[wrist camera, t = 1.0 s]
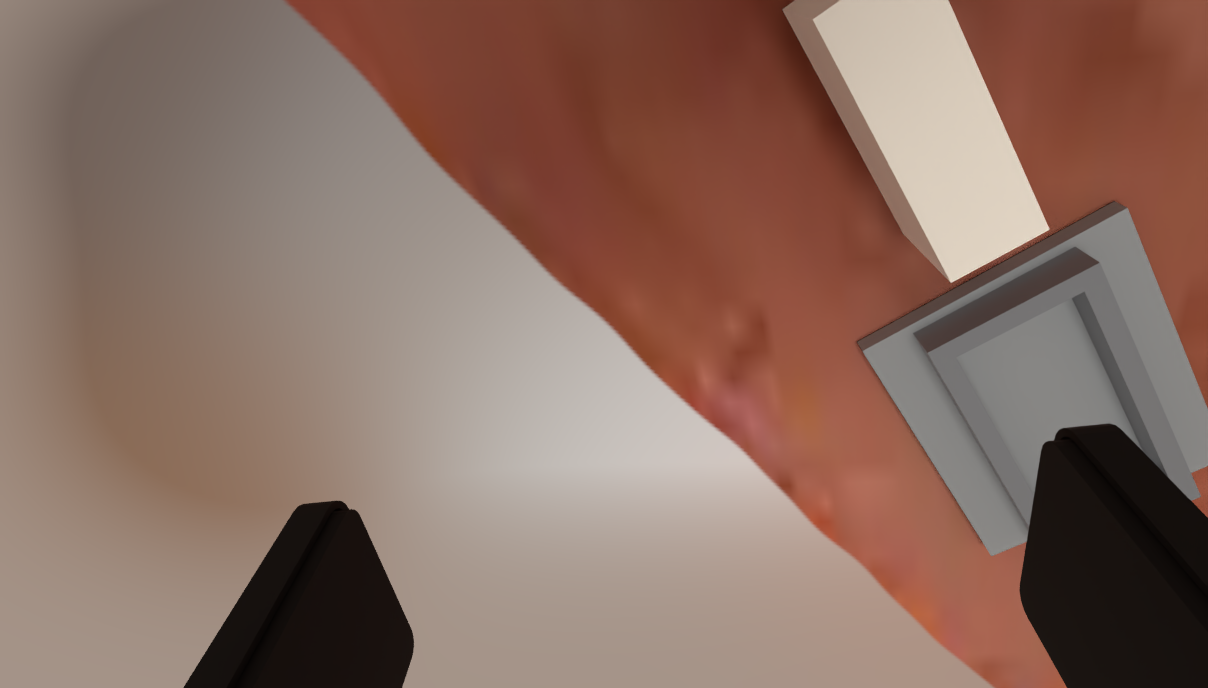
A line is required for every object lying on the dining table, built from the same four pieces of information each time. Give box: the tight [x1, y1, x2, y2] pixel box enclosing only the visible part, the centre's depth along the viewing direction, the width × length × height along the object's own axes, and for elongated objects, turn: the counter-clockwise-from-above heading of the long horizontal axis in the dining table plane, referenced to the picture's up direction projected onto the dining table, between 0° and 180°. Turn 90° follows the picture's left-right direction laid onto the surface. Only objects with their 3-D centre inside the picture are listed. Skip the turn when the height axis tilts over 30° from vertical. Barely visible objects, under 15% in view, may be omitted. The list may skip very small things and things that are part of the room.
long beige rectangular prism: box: [782, 0, 1049, 283], centre depth 29 cm, size 4×12×6 cm, turn 35°
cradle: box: [857, 201, 1208, 556], centre depth 37 cm, size 13×17×3 cm
